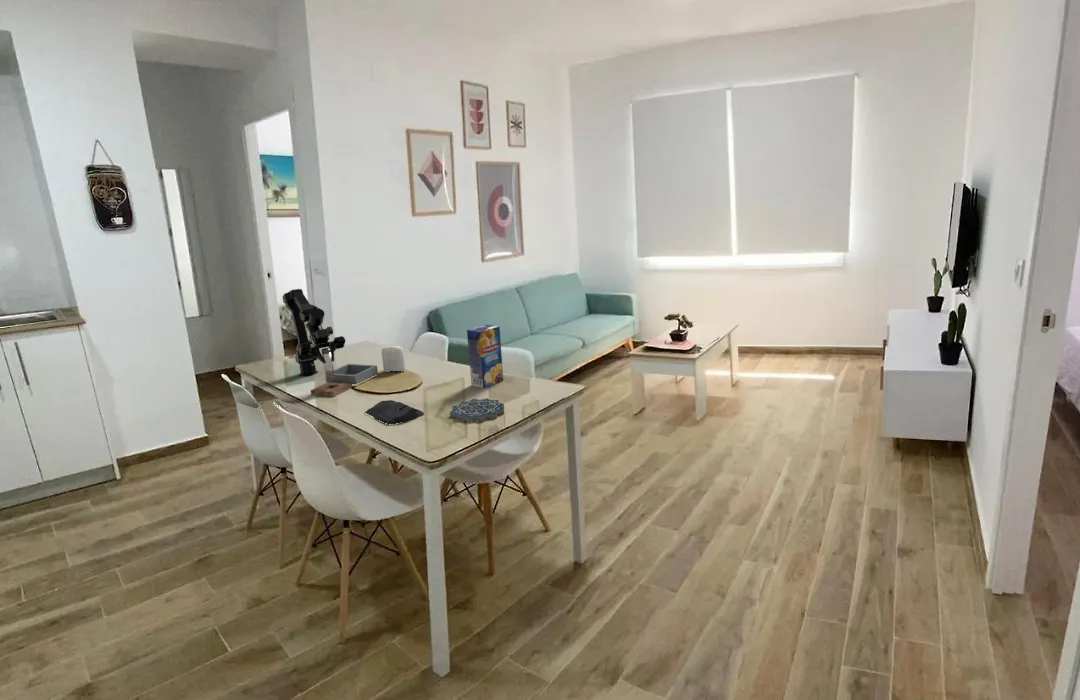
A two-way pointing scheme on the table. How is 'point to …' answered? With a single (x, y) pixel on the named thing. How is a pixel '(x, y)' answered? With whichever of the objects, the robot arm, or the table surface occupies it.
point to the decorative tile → (477, 410)
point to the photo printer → (393, 358)
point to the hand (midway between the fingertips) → (328, 362)
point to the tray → (353, 373)
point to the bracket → (331, 388)
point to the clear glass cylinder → (328, 362)
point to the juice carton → (485, 355)
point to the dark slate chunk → (393, 412)
